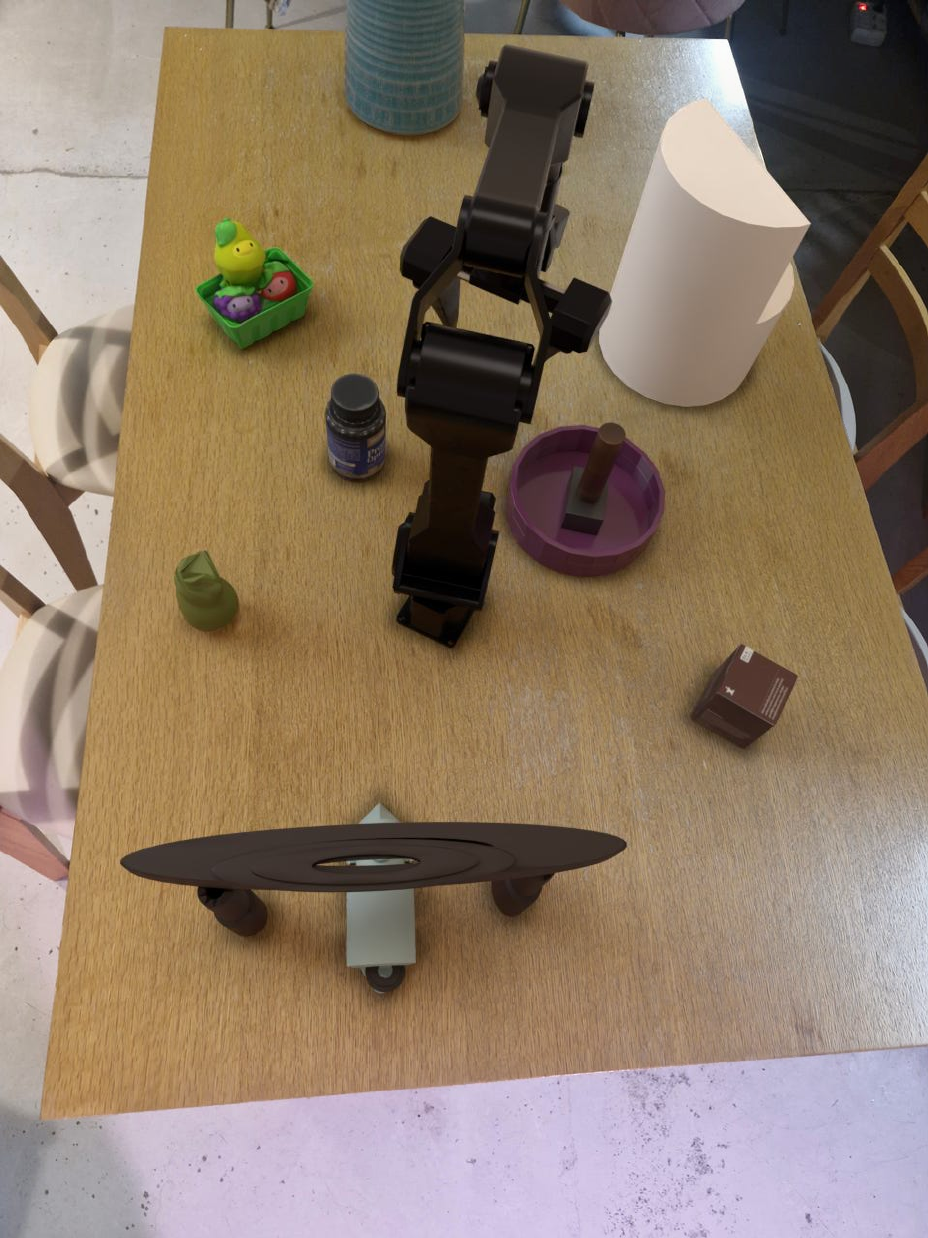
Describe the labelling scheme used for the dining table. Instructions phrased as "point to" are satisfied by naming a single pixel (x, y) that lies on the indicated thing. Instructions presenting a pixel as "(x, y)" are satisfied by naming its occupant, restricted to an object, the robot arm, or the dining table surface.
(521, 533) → the bowl
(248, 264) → the fruit basket
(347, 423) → the pill bottle
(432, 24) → the vase
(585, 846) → the round plant dolly
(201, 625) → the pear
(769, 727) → the box
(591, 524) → the hammer
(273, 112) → the dining table surface
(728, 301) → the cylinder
